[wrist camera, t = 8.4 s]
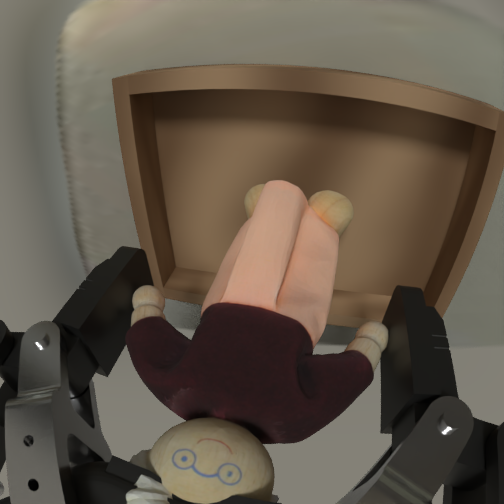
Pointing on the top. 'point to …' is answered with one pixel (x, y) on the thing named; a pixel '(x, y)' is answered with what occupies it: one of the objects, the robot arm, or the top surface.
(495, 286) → the top surface
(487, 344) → the top surface
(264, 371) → the grandmother figurine
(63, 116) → the top surface
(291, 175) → the walnut tray
